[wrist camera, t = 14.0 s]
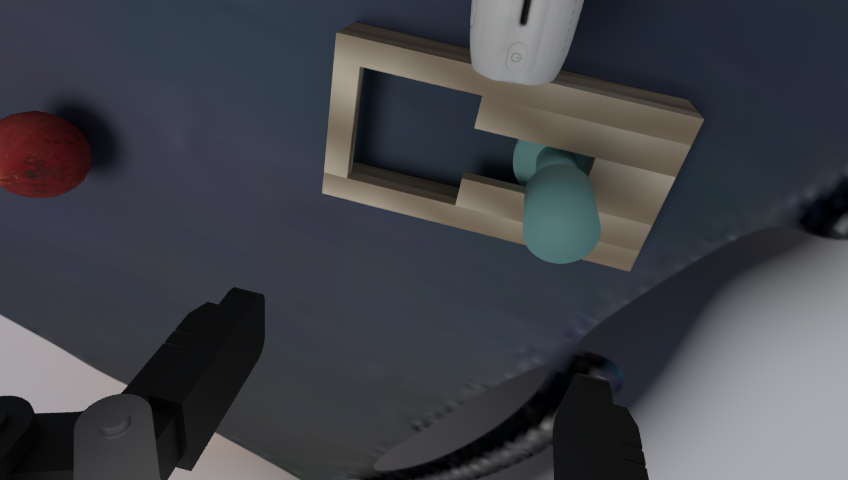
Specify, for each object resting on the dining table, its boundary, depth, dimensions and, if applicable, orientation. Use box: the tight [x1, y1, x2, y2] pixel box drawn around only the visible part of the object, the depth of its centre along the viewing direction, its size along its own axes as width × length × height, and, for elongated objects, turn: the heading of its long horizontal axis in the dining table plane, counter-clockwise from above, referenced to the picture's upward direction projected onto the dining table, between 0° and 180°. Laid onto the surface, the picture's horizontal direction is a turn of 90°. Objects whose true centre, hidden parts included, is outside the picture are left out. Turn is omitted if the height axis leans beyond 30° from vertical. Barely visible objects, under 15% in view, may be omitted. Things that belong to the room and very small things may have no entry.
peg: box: [513, 139, 601, 264], centre depth 29 cm, size 5×5×10 cm
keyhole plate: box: [322, 22, 704, 271], centre depth 32 cm, size 10×20×4 cm, turn 79°
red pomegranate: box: [0, 111, 92, 198], centre depth 36 cm, size 6×6×8 cm
